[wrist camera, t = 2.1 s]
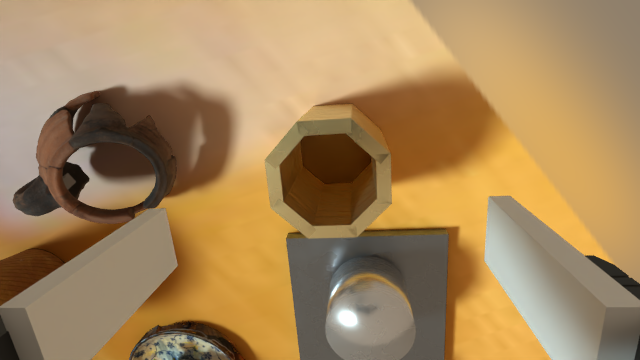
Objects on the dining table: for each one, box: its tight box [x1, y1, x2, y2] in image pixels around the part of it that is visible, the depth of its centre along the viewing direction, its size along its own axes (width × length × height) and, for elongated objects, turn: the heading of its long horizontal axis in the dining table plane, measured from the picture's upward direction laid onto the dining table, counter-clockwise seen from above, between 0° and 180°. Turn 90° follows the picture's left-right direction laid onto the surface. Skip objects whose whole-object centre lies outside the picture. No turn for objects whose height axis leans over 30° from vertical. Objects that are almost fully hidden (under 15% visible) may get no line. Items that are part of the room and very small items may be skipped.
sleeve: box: [265, 104, 392, 239], centre depth 24 cm, size 7×7×8 cm
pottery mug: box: [13, 91, 177, 224], centre depth 27 cm, size 12×10×8 cm
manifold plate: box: [286, 229, 449, 360], centre depth 29 cm, size 20×13×6 cm, turn 4°
